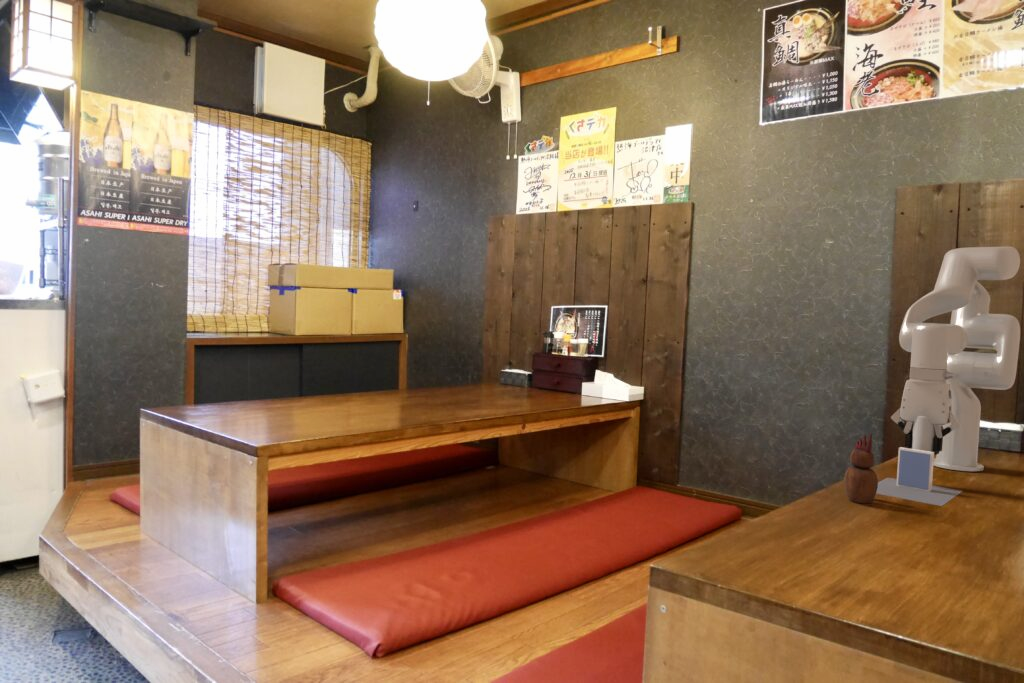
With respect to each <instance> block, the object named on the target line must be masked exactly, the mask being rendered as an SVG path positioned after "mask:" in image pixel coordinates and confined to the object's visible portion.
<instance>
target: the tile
mask: <svg viewBox="0 0 1024 683" xmlns="http://www.w3.org/2000/svg"><path fill="white" fill-rule="evenodd" d="M897 454H898V455H897V469H896V470H897V471H896V479H897V482H896V486H900V487H906V488H911V489H917V490H922V491H928V492H930V491H932V485H933V479H934V478H933V477H934V465H933V463H934V458H935V454H934V452H931V451H924V450H917V449H910V448H907V447H902V446H900V447H898V453H897Z"/></svg>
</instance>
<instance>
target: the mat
mask: <svg viewBox="0 0 1024 683" xmlns="http://www.w3.org/2000/svg"><path fill="white" fill-rule="evenodd" d="M896 482H897V478H892V477H886V478H884V479H881V481H878V487H877V492H876V495H881V496H887V497H892V498H897V499H903V500H907V501H913V502H917V503H923V504H927V505H928V504H929V505H933V506H938V507H943V506H944V505H946V504H947V503H948V502H950V501H951V500H953V499H954V498H955V497H957V496H958V495H959V494H961V493H963V490H962V489H961V490H960V489H953V488H950V487H949V488H948V487H944V486H943V487H942V486H939V485H933V484H932V491H930V492H928V491H922V490H917V489H911V488H906V487H900V486H896Z"/></svg>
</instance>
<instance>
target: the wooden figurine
mask: <svg viewBox="0 0 1024 683" xmlns="http://www.w3.org/2000/svg"><path fill="white" fill-rule="evenodd" d="M872 440H873V434H872V433H870V434H869V436H868V439H867V435H866V434H864V435H863V438H860V439H859V441H856V442H855V446H854V449H853V450H852V451H851V453H850V456H849V459H850V460H849V461H850V463H851V466H849V467H848V468H847V470H845V473H844V478H843V484H844V490H845V493H846V496H847V498H848V499H849V500H850V501H851V502H854V503H857V504H870V503H871V502H873V501H874V499H875V497H876V495H877V494H876V492H877V487H878V482H879V481H878V476H877V473H876V472H875V471H874V469H873V468H872V467H874V464H875V454H874V453H873V451H872V445H873V444H872V442H873V441H872Z"/></svg>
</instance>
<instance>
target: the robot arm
mask: <svg viewBox="0 0 1024 683" xmlns="http://www.w3.org/2000/svg"><path fill="white" fill-rule="evenodd" d="M1020 256H1021V255H1020V254H1019V251H1018V249H1017V248H1015V247H1014V246H975V247H974V246H973V247H972V246H970V247H968V246H967V247H960V248H959V247H958V248H953V249H950V250H948V251H947V252H945V254H944V255H943V260H942V261H941V262H942V263H941V267H940V269H939V272H938V276H937V278H936V282H935V285H934V289H933V290H932V291H930V292H928V293H927V294H925V295H924V296H921V298H919V299H918V300H916V301H915V302H914V303H912V304H911V306H910V307H909V308H908V309H907V311H906V312H905V315H904V317H903V321H902V324H901V326H900V331H899V336H898V341H899V345H900V347H901V349H902V350H904V351H906V352H908V353H911V354H910V363H909V364H910V365H909V366H910V368H909V379H907V380H906V381H905V383H904V388H903V391H902V392H903V393H902V397H901V403H900V407H899V408H898V409H897V410H896V411H895V412H894V413H893V414H892V415H891V416H890V419H891V420H892V421H893V422H894V423H895V424H897V426H898V427H899V428H900V429H901V430H902V432H903V433H904V446H905V447H906V448H910V449H911V447H912V431H913V422H916V420H917V417H918V416H924V417H927V418H928V420H929V423H930V424H932V425H934V428H935V432H936V436H935V438H934V441H933V452H934V456H935V457H934V463H933V467H938V468H942V469H947V470H953V471H958V472H959V471H961V472H983V471H984V468H985V466H984V465H983V464H981V463H978V455H979V443H980V441H979V438H980V426H981V413H982V412H981V410H982V406H981V404H982V403H981V402H980V399H979V398H978V397H977V395H976V394H975V393H974V391H973V390H972V389H984V390H985V389H986V390H987V389H988V390H999V391H1005V390H1008V389H1011V388H1013V385H1014V384H1015V382H1016V381H1015V380H1016V377H1017V376H1016V375H1017V368H1018V361H1019V360H1018V359H1019V350H1020V341H1021V325H1020V322H1019V320H1018V318H1017V317H1015V316H1013V315H1012V314H1007V313H990V312H989V311H990V304H991V296H990V294H989V291H988V290H987V289H986V288H985V287H984V286H983V285H982V284H981V283H980V282H979V281H1006V280H1010V279H1012V278H1014V277H1015V276H1016V275H1017V274H1018V271H1019V269H1020V264H1021V258H1020ZM950 312H951V315H950V316H951V317H950V322H949V323H937V322H925V321H927V320H929V319H930V318H933V317H937V316H939V315H943V314H947V313H950ZM966 348H968V349H983V350H984V349H985V350H994V351H996V353H993V352H991V353H990V352H978V351H964V350H965V349H966ZM922 414H924V415H922Z"/></svg>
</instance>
